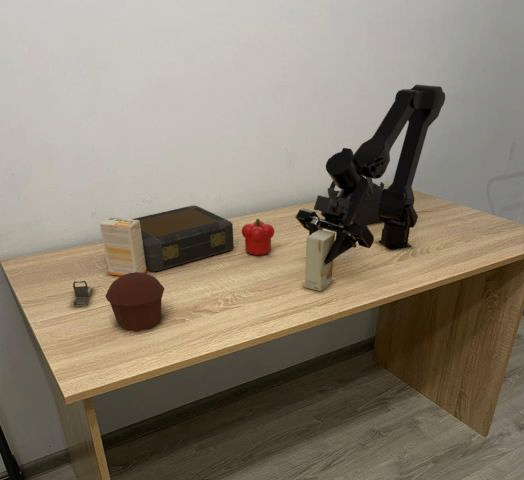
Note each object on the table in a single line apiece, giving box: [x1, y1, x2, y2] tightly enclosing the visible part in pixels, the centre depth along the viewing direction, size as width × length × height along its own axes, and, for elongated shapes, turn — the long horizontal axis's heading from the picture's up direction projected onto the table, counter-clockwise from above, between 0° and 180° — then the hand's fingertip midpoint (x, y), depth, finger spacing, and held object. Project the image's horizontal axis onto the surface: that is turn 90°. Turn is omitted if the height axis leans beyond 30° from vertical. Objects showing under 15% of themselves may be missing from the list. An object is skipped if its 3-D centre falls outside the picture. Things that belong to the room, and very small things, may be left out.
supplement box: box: [99, 216, 148, 277], centre depth 127 cm, size 8×5×13 cm, turn 70°
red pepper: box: [241, 218, 275, 257], centre depth 139 cm, size 7×7×9 cm
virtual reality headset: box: [327, 177, 385, 226], centre depth 163 cm, size 19×24×15 cm
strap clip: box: [72, 280, 92, 307], centre depth 118 cm, size 8×3×4 cm, turn 8°
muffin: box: [104, 272, 165, 333], centre depth 108 cm, size 12×11×10 cm
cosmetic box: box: [304, 229, 336, 292], centre depth 121 cm, size 6×4×12 cm
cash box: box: [131, 204, 234, 272], centre depth 141 cm, size 25×20×8 cm
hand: (316, 260), depth 120 cm, fingers closed on cosmetic box, 5 cm apart
